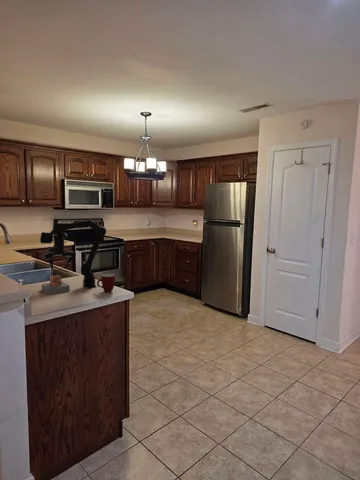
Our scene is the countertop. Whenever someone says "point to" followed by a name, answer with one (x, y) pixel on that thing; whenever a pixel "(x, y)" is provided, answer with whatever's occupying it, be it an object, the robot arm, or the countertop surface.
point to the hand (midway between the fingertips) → (59, 268)
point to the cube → (55, 280)
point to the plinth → (55, 288)
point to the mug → (107, 282)
